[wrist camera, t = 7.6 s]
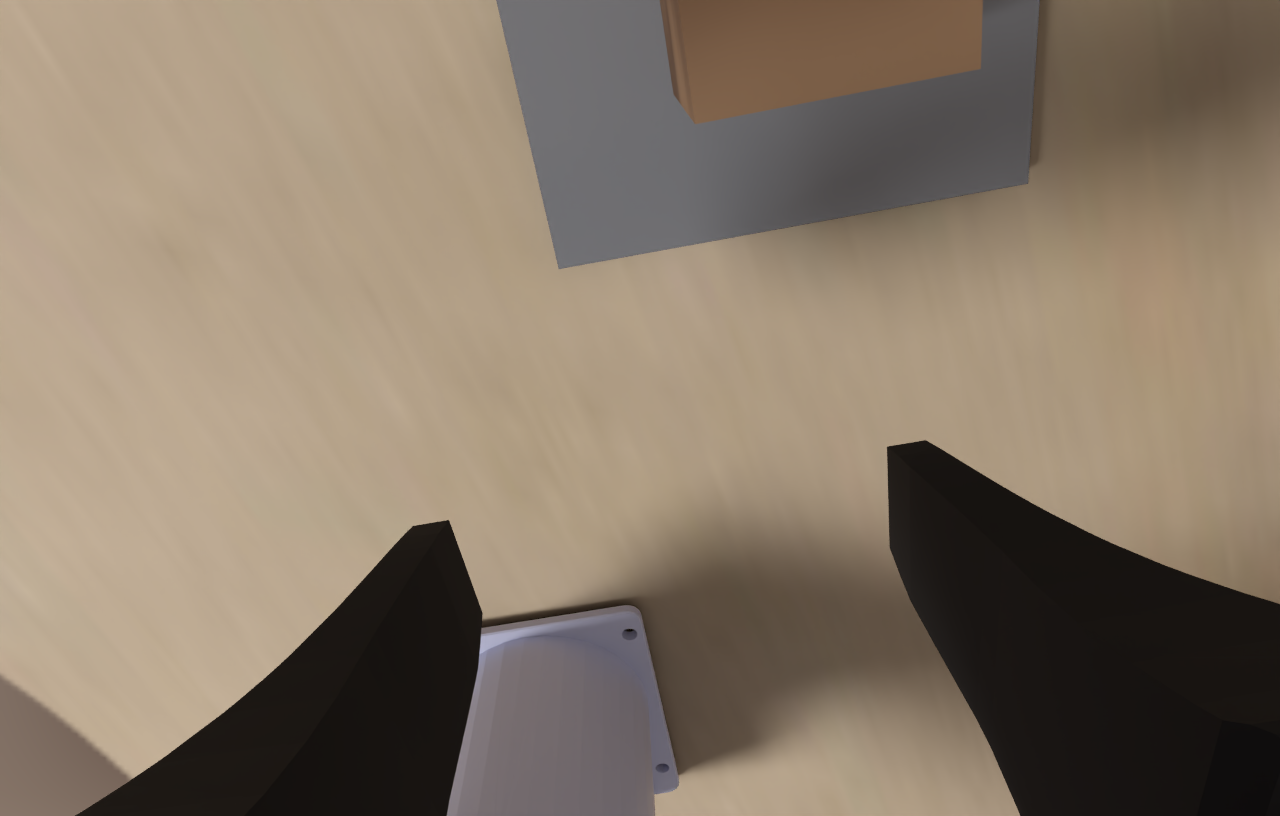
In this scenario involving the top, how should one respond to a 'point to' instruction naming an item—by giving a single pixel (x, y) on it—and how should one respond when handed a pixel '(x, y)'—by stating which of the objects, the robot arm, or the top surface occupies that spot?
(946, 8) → the walnut cube
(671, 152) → the coaster
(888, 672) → the top surface
